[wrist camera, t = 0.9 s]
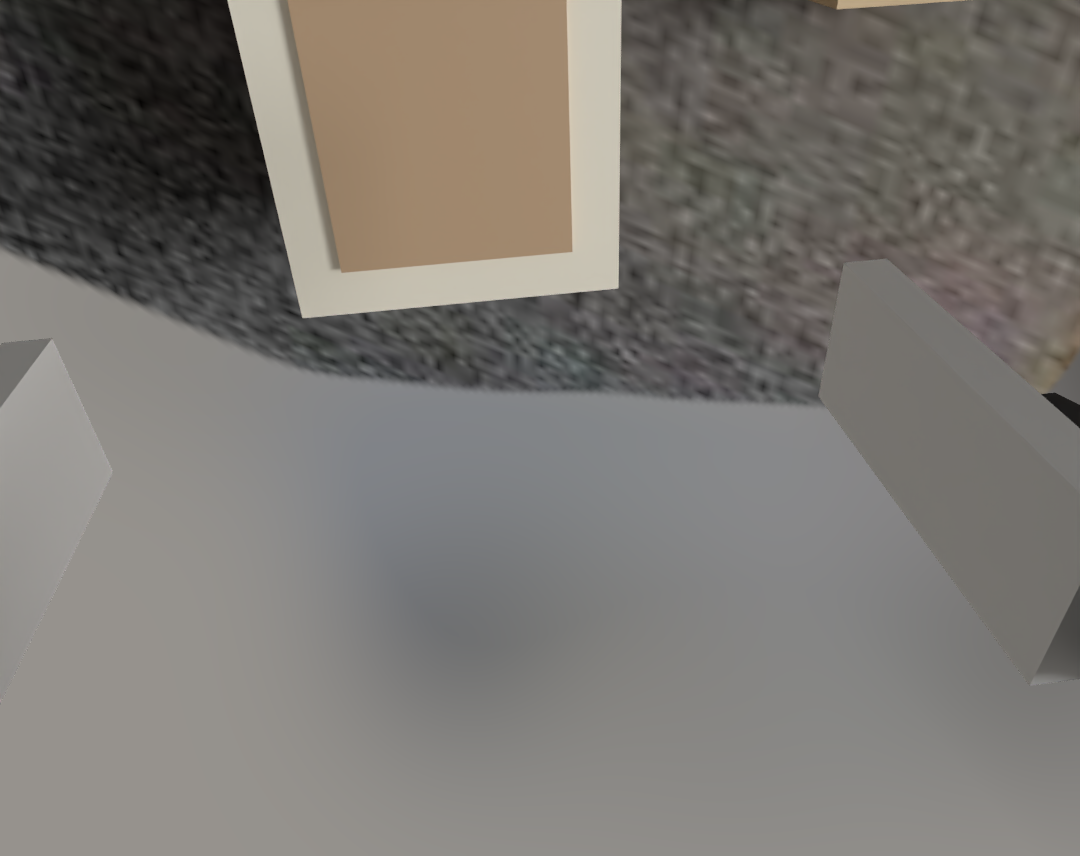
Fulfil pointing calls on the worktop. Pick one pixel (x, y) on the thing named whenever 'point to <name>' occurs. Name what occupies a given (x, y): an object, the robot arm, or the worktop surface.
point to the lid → (438, 146)
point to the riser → (871, 3)
